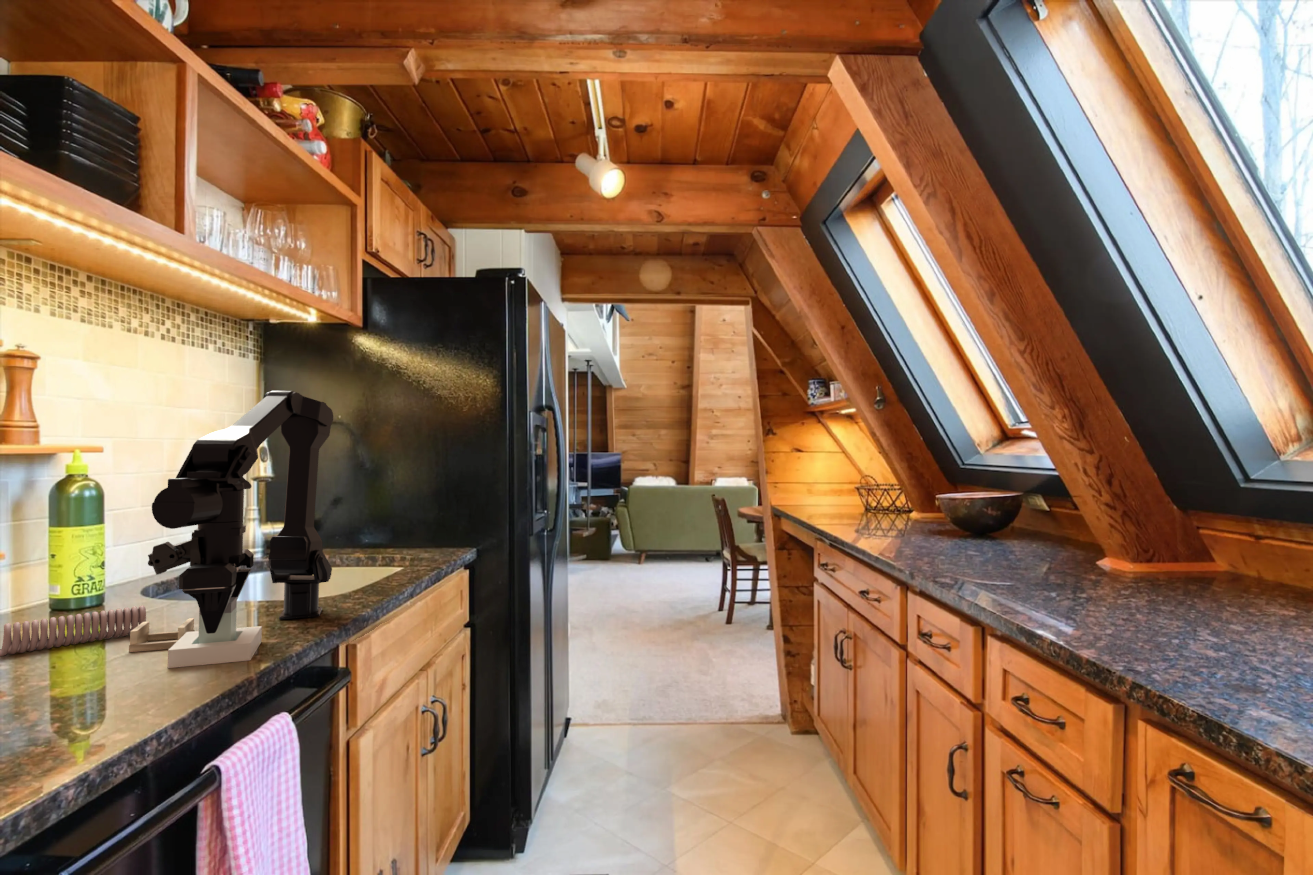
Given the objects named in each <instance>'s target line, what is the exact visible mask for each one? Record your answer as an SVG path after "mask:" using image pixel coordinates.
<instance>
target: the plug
mask: <svg viewBox="0 0 1313 875" xmlns="http://www.w3.org/2000/svg"><path fill="white" fill-rule="evenodd" d="M237 604H238V599H237V597H231V598H230V600H229V603H228V605H227V608H226V610H225V612H224V615H223V617H222V619H221V622H220V624H219V626H218V629H217V631H216V632H215V633H210V634H208V633H206V629H205V626H204V622H203V619H202V616H201V612H200V609H199V608H198V609H199V611H198V631H199V642H198V644H200V643H212V642H224V641H236V628H237V610H238V608H237Z"/></svg>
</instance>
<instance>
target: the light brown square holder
mask: <svg viewBox="0 0 1313 875" xmlns="http://www.w3.org/2000/svg"><path fill="white" fill-rule="evenodd" d="M192 631H195V618H194V617H192V618H191V617H190V618H187V619H186V620H185V621H184V622H183V623H181V625H179V626H178V628H177V631H164V632H150V621H146V622H142V623H141V624H140V625H139V624H138V626H137V627H136V628H134V629H133V630H132V631H130V635H129V645H128V652H129V653H134V652H135V653H136V652H145V651H146V652H148V651H158V650H169V649H170V648H171V647H172V646H173V645H174V644H175V643H176V642H177V641H178V640H179V639H180V638H181V637H182V636H183V635H184V634H185V633H186V632H192ZM173 639H174V640H173Z"/></svg>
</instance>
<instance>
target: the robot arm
mask: <svg viewBox="0 0 1313 875" xmlns="http://www.w3.org/2000/svg"><path fill="white" fill-rule="evenodd" d="M333 412H334V411H333V409H332V408H331V407H329V406H328V405H327V403H326V402H324V401H320V400H316V399H313V398H310V397H306V396H304V395H302V394H301V393H299V392H296V391H294V390H271V391H268V392H266V393H265V394H264V395H263V397H262V399H261V400H260V401H259V402H257V403H256V404H255V405H254V406H252V408H251V409H250V410H248V411H247V412H246V413H244V414H243V415H242V416H241V417H240V418H239V419H238V420H237V421H235V422H234V423H233V424H232V425H230V426H228V427H227V428H224V429H223V428H222V429H219V430H215V431H213V432H210V433H208V434H206V435H204V436H202V437H199V438H198V439H197V440H195V442H194V443H193V444H192V447H191V449H190V451H189V453H188V455H187V456H186V458H185V460H184V461H183V464H182V465H181V467H180V469H179V470H178V473H177V475H176V477H175V478H174V477H173V478H168V479H167V487H165V488H163V489H162V490H160V492H159V493H158V494H157V495H156V496H155V497H154V500H153V502H152V503H151V513H152V516H153V518H154V520H155V521H156V523H157V524H159V525H160V526H162V527H163V528H167V529H170V530H171V529H172V530H173V529H174V530H175V529H180V528H186V527H192V526H193V527H194V526H197V528H196V529H194V530H193V531H192V532H191V539H188V540H185V541H184V540H183V541H182V542H179V543H175V544H172V543H171V542H169V541H166V542H163V543H161V544H156V545H154V546H153V547H152V552H151V553H149V554H148V555H147V557H148V561H147V565H148V566H150V567H152V568H153V570H154V572H155V575H161V574H165V573H166V572H167V571H168V570H171V569H174V568H176V567H177V568H178V567H180V566H183V565H186V564H188V563H189V567H188V568H186V569H185V570H184V571H183V572H181V573H180V574H179V575H178V590H181V592H183V594H185V595H189V596H190V597H192V598H193V599H195V600H196V603H197V605H198V609H200V612H201V616H202V619H203V622H204V626H205V629H206V633H208V634H210V633H215V632H216V631H217V629H218V626H219V624H220V622H221V619H222V617H223V615H224V612H225V610H226V608H227V605H228V603H229V600H230V598H231V597H237V600H238V599H239V596H240V594H241V592H242V590H243V588H244V586H245V584H246V582H247V579H248V578H249V575H250V574H251V572H252V567H253V566H254V553H253V552H252V551H250V549H249V548H243V547H244V546H243V545H244V543H243V542H244V540H243V539H244V533H246V531H247V530H246V526H247V525H246V524H244V508H245V507H244V506H245V505H244V504H245V503H244V502H245V500H244V499H245V490H249V489H252V484H251V483H250V481H248V480H247V479H246V478H245V477H244V476H245V475H247V474H248V472H249V471H250V470H251V469H252V467H253V466H254V464H255V463H256V462H257V460H258V459H259V454H258V449H259V447H260V446H261V445H262V444H263V443H264V442H265V441H266V440H267V439H268V438H269V437H270V436H271V435H272V434H273V433H274V432H275V431H276V430H277V429H279V427H280V433H281V436H282V438H283V439H284V441H285V442H286V444H287V446H288V447H289V449H288V450H289V452H288V453H289V454H288V462H287V464H288V465H287V476H286V478H287V480H286V491H285V492H286V494H285V503H284V504H285V506H284V507H285V508H284V520H283V521H284V522H283V527H282V529H281V530H280V531H279V532H278V534H277V535H275V536H274V535H273V536H271V539H270V541H269V553H268V568H269V573H270V577H271V581H272V584H283V585H284V587H283V609H282V611H281V613H280V614H279V615H278V619H279V620H289V619H290V620H293V619H302V618H306V619H307V618H316V617H320V615H321V613H322V610H323V606H320V605H319V604H320V603H319V598H320V597H319V595H320V584H323V583H328V582H329V581H330V580H331V576H332V572H333V568H332V565H331V564H330V562H329V560H328V558H327V557H326V556H325V554H324V551H323V548H324V547H323V545H324V544H323V540H322V538H321V536H320V535H319V533H318V531H317V530H316V528H315V518H316V517H315V515H316V503H317V502H316V500H317V486H318V485H317V484H318V470H319V469H318V468H319V456H320V449H321V448H322V446H324V444H325V442H326V440H328V438H329V436H330V433H331V428H332V427H331V426H332V424H333V421H334V413H333ZM242 567H246V568H242Z"/></svg>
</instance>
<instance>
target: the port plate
mask: <svg viewBox="0 0 1313 875" xmlns="http://www.w3.org/2000/svg"><path fill="white" fill-rule="evenodd" d="M262 635H263V626H262V625H261V626H260V625H259V626H248V627H247V626H243V627H236V641H224V642H212V643H200V644H198V642H199V630H194V631H192V632H186V633H185V634H184V635H183V636H182V637H181V638H180V639H179V640H178V639H177V640H178V641H177V642H176V643H175V644H174V645H173V646H172V647H171V648H170V649H167V669H173V668H185V667H192V666H205V665H215V664H224V663H235V662H245V661H251V660H252V658H253V657H254V655H255V653H256V652H257V650H258V648H259V646H260V645H261V643H262V638H263V637H262Z"/></svg>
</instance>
